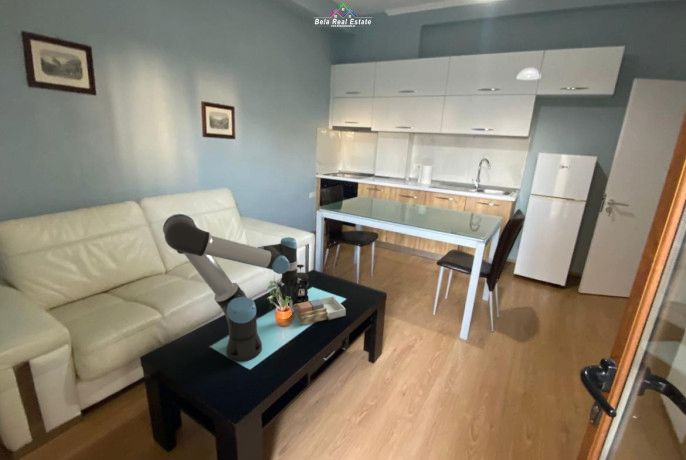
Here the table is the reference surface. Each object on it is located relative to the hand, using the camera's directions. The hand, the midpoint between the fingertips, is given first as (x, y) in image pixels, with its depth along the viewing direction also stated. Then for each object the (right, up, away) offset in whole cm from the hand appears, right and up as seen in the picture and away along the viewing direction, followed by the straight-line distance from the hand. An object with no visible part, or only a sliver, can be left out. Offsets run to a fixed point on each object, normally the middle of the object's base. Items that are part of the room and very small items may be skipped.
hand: (290, 310), depth 164 cm
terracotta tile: (+7, -1, +4) cm, 8 cm away
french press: (+2, 0, +20) cm, 20 cm away
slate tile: (+13, 0, +7) cm, 14 cm away
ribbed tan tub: (+10, -4, +6) cm, 12 cm away
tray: (+21, -3, +12) cm, 24 cm away
